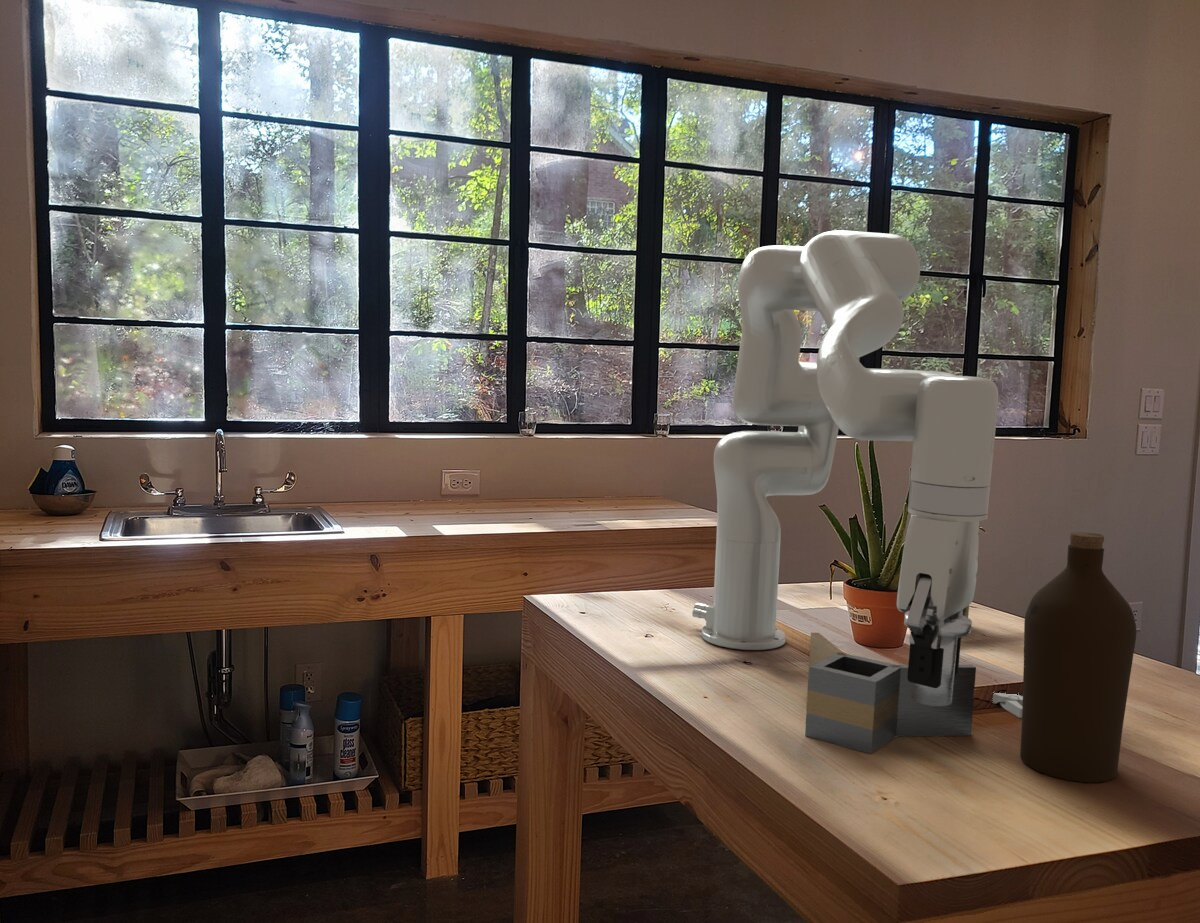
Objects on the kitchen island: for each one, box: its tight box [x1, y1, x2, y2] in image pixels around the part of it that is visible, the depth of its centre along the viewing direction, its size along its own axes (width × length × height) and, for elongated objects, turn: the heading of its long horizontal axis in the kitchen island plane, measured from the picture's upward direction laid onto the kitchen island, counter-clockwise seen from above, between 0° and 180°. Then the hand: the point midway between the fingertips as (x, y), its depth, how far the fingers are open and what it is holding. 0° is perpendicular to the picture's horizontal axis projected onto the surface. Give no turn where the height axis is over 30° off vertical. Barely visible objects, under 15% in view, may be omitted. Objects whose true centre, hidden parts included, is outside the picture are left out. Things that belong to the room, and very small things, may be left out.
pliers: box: [991, 692, 1023, 719], centre depth 128 cm, size 10×2×15 cm
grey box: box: [804, 632, 977, 755], centre depth 115 cm, size 20×14×8 cm
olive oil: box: [1019, 531, 1137, 783], centre depth 105 cm, size 11×11×25 cm
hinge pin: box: [903, 609, 973, 706], centre depth 101 cm, size 6×6×8 cm
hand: (932, 676), depth 101 cm, fingers closed on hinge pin, 4 cm apart
